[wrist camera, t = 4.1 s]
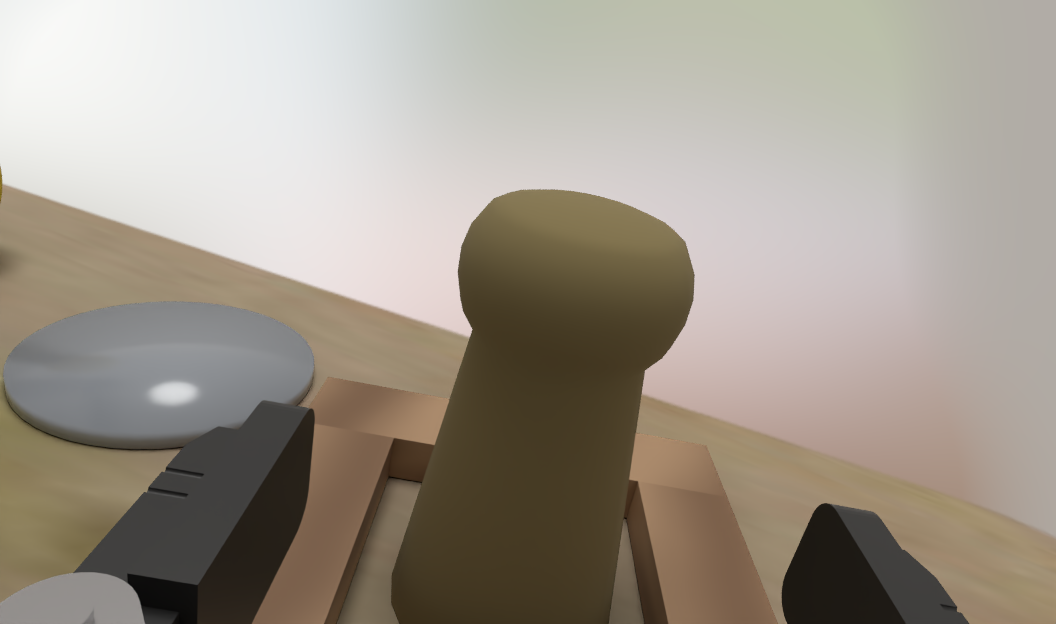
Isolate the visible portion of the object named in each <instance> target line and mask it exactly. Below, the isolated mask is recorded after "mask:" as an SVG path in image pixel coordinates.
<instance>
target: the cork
mask: <svg viewBox="0 0 1056 624" xmlns="http://www.w3.org/2000/svg"><path fill="white" fill-rule="evenodd" d="M458 278H459V288H460V297H461V303H462V308H463V312H464V314H465V316H466V317H467V319H468V321H469V323H470V325H471V327H472V329H473V330H472V333H471V336H470V339H469V342H468V345H467V348H466V351H465V354H464V357H463V360H462V363H461V366H460V369H459V372H458V375H457V378H456V381H455V385H454V388H453V391H452V394H451V397H450V400H449V403H448V406H447V409H446V412H445V415H444V418H443V421H442V424H441V427H440V430H439V433H438V436H437V439H436V442H435V445H434V448H433V451H432V454H431V457H430V460H429V463H428V466H427V469H426V473H425V476H424V479H423V482H422V485H421V488H420V491H419V494H418V497H417V500H416V503H415V506H414V509H413V512H412V515H411V518H410V521H409V524H408V527H407V530H406V533H405V536H404V539H403V542H402V545H401V548H400V551H399V554H398V557H397V560H396V564H395V567H394V570H393V573H392V591H391V603H392V606H393V608H394V611H395V613H396V616H397V618H398V621H399V623H400V624H608V622H609V616H610V609H611V602H612V595H613V588H614V581H615V574H616V567H617V560H618V553H619V546H620V539H621V532H622V525H623V518H624V511H625V505H626V498H627V491H628V484H629V477H630V470H631V463H632V456H633V449H634V442H635V435H636V428H637V421H638V414H639V407H640V400H641V393H642V386H643V380H644V373H645V370H646V369H647V368H649V367H650V366H652V365H653V364H655V363H656V362H657V361H659V360H660V359H662V357H663V356H664V355H665V354H666V353H667V351H668V350H669V349H670V348H671V346H672V345H673V343H674V341H675V340H676V338H677V337H678V335H679V334H680V332H681V330H682V329H683V327H684V326H685V323H686V321H687V317H688V314H689V311H690V308H691V305H692V302H693V295H694V272H693V268H692V264H691V260H690V257H689V253H688V250H687V246H686V243H685V241H684V240H683V239H682V238H681V237H680V236H679V235H678V234H677V233H676V232H675V231H674V230H673V229H672V228H671V227H669V226H668V225H667V224H666V223H664V222H663V221H661V220H659V219H657V218H655V217H653V216H651V215H649V214H647V213H644V212H642V211H640V210H638V209H636V208H633V207H631V206H628V205H626V204H623V203H620V202H617V201H614V200H610V199H607V198H604V197H600V196H595V195H591V194H586V193H580V192H574V191H564V190H519V191H515V192H510V193H507V194H505V195H502V196H499V197H497V198H494V199H493V200H492V201H491V203H489V204H488V205H487V206H486V208H485V209H484V210H483V211H482V212H481V213H480V214H479V216H478V217H477V218H476V219H475V220H474V221H473V222H472V224H471V226H470V228H469V230H468V233H467V235H466V237H465V239H464V242H463V244H462V247H461V253H460V261H459V267H458Z"/></svg>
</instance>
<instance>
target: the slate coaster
mask: <svg viewBox="0 0 1056 624" xmlns="http://www.w3.org/2000/svg"><path fill="white" fill-rule="evenodd" d="M313 371H314V356H313V353H312V350H311V348H310V346H309V345H308V343H307V341H306V340H305V339H304V338H303V337H302V336H301V335H300V334H298V333H297V332H296V331H295V330H293V329H292V328H290V327H288V326H287V325H285V324H283V323H281V322H279V321H277V320H275V319H273V318H270V317H267V316H265V315H262V314H259V313H256V312H252V311H248V310H245V309H240V308H235V307H230V306H224V305H218V304H209V303H199V302H146V303H135V304H126V305H119V306H112V307H107V308H102V309H97V310H93V311H89V312H85V313H81V314H78V315H74V316H71V317H68V318H65V319H62V320H60V321H58V322H55V323H53V324H50V325H48V326H46V327H44V328H42V329H40V330H38V331H36V332H35V333H33V334H32V335H30V336H29V337H27V338H26V339H24V340H23V341H22V342H21V343H20V344H19V345H17V346H16V347H15V348H14V350H13V351H12V352H11V353H10V355H9V356H8V358H7V360H6V363H5V365H4V373H3V377H4V386H5V392H6V397H7V401H8V402H9V404H10V406H11V407H12V409H13V410H14V411H15V412H16V413H17V414H18V415H19V416H20V417H21V418H22V419H23V420H25V421H26V422H28V423H29V424H31V425H32V426H34V427H35V428H38V429H40V430H42V431H44V432H46V433H49V434H51V435H54V436H57V437H60V438H63V439H66V440H69V441H74V442H79V443H83V444H88V445H94V446H101V447H109V448H122V449H165V448H177V447H184V446H185V445H186V444H187V443H189V442H191V441H192V440H194V439H196V438H198V437H200V436H201V435H203V434H205V433H207V432H209V431H211V430H212V429H214V428H216V427H218V426H220V427H226V428H231V429H237V430H239V429H240V427H241V426H242V425H243V423H244V422H245V421H246V420H247V418H248V417H249V416H250V414H251V413H252V412H253V411H254V409H255V408H256V407H257V405H258V404H259V403H260V402H261V401H263V400H267V401H273V402H278V403H284V404H289V405H295V406H296V405H298V404H299V403H300V402H301V400H302V399H303V398H304V397H305V396H306V394H307V392H308V391H309V389H310V387H311V384H312V379H313Z"/></svg>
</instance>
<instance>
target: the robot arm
mask: <svg viewBox="0 0 1056 624" xmlns="http://www.w3.org/2000/svg"><path fill="white" fill-rule="evenodd" d="M314 425H315V414H314V410H313V409H311V408H306V407H300V406H295V405H289V404H284V403H278V402H273V401H267V400H263V401H261V402H260V403H259V404H258V405H257V407H256V408H255V409H254V411H253V412H252V413H251V414H250V416H249V417H248V418H247V420H246V421H245V422H244V423H243V425H242V426H241V427H240V429H239V430H237V429H231V428H226V427H220V426H218V427H216V428H214V429H212V430H211V431H209V432H207V433H205V434H203V435H201V436H200V437H198V438H196V439H194V440H192V441H191V442H189V443H187V444H186V445H185V446H184V447H183V448H182V450H181V451H180V452H179V453H178V454H177V455H176V456H175V458H174V459H173V460H172V461H171V462H170V463H169V464H168V466H167V467H166V470H165V472H161V474H160V475H159V476H158V477H157V478H156V479H155V480H154V481H153V483H152V484H151V485H150V486H149V488H148V491H147V493H146V492H144V493H143V494H142V495H141V496H140V497H139V499H138V500H137V501H136V502H135V503H134V504H133V505H132V507H131V508H130V509H129V510H128V511H127V512H126V513H125V515H124V516H123V517H122V518H121V519H120V520H119V521H118V523H117V524H116V525H115V526H114V527H113V528H112V529H111V531H110V532H109V533H108V534H107V535H106V536H105V537H104V539H103V540H102V541H101V542H100V543H99V544H98V545H97V546H96V548H95V549H94V550H93V551H92V552H91V553H90V554H89V556H88V557H87V558H86V559H85V560H84V561H83V562H82V564H81V565H80V566H79V567H78V568H77V569H76V570H75V572H74V573H70V574H64V575H60V576H55V577H52V578H48V579H45V580H42V581H39V582H37V583H35V584H32V585H30V586H27V587H26V588H24V589H22V590H20V591H18V592H16V593H14V594H13V595H11V596H10V597H8V598H7V599H5V600H4V601H2V602H1V603H0V624H252V622H253V620H254V618H255V616H256V614H257V612H258V610H259V608H260V606H261V604H262V602H263V600H264V598H265V596H266V594H267V592H268V590H269V588H270V586H271V584H272V582H273V580H274V578H275V576H276V574H277V572H278V570H279V568H280V566H281V564H282V562H283V560H284V558H285V556H286V554H287V552H288V550H289V548H290V546H291V544H292V542H293V540H294V538H295V536H296V534H297V532H298V529H299V527H300V524H301V521H302V518H303V515H304V511H305V507H306V503H307V498H308V492H309V482H310V471H311V459H312V448H313V437H314ZM782 607H783V612H784V616H785V619H786V622H787V624H969V623H968V621H967V620H966V619H965V617H964V616H963V614H962V613H959V612H957V606H956V605H955V603H954V602H953V601H952V599H951V598H950V596H949V595H948V594H947V592H946V591H945V590H944V588H943V587H942V585H941V584H940V583H939V581H938V580H937V578H936V577H935V576H934V575H932V574H931V573H930V572H929V571H928V570H927V569H926V568H924V567H923V566H922V565H921V564H920V563H919V562H918V561H917V560H915V559H914V558H913V557H912V556H911V555H910V554H909V553H908V552H906V551H905V550H902V549H901V547H900V546H899V545H898V543H897V542H896V540H895V539H894V537H893V536H892V535H891V533H890V532H889V530H888V529H887V527H886V526H885V524H884V523H883V522H882V520H881V519H880V518H879V516H878V515H877V514H875V513H874V512H871V511H866V510H861V509H855V508H850V507H844V506H839V505H833V504H827V503H824V504H821V505H819V506H818V507H817V508H816V510H815V511H814V513H813V515H812V517H811V519H810V521H809V523H808V526H807V528H806V530H805V532H804V534H803V537H802V539H801V541H800V543H799V546H798V548H797V550H796V552H795V554H794V557H793V559H792V561H791V563H790V566H789V568H788V570H787V572H786V575H785V577H784V581H783V586H782Z"/></svg>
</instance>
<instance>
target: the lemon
mask: <svg viewBox="0 0 1056 624" xmlns="http://www.w3.org/2000/svg"><path fill="white" fill-rule="evenodd" d="M1 196H2V174H1V168H0V202H1Z"/></svg>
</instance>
